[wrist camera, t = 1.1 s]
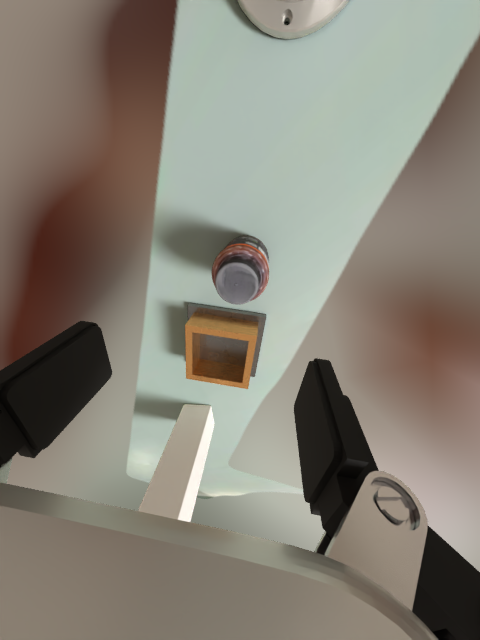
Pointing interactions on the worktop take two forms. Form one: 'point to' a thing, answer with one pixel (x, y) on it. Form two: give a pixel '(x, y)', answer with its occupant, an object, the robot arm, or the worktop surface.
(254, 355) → the square wooden tray
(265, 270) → the supplement bottle
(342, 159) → the worktop surface
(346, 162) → the worktop surface
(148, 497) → the milk
